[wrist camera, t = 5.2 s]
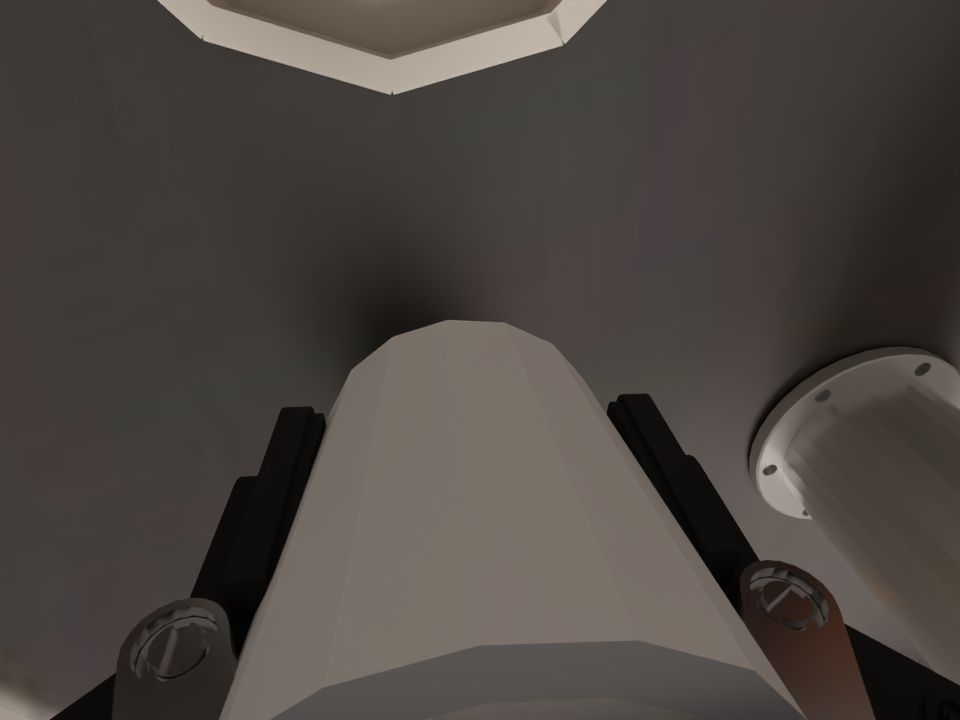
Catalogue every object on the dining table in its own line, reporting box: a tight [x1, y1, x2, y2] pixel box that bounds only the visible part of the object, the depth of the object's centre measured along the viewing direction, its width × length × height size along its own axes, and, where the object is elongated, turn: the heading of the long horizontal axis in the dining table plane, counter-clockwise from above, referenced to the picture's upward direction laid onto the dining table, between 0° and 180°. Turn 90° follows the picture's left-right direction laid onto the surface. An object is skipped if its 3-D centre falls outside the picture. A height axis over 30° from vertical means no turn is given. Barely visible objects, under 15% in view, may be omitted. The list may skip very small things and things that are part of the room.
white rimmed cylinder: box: [219, 320, 807, 720], centre depth 9 cm, size 7×7×7 cm
